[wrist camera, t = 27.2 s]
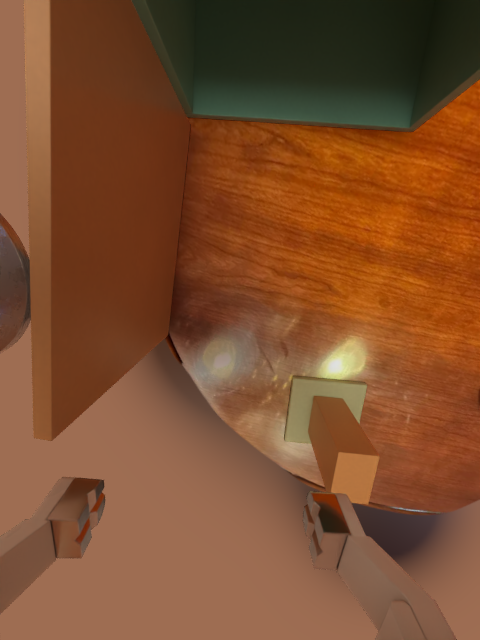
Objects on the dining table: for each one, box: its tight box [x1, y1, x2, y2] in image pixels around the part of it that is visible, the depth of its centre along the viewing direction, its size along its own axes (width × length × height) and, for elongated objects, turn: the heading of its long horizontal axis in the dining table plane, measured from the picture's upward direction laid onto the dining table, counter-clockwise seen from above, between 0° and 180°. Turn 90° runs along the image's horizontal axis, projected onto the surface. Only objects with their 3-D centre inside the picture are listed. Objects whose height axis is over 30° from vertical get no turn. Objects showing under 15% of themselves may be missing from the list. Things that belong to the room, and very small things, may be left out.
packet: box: [308, 396, 380, 504], centre depth 35 cm, size 4×6×12 cm
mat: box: [284, 376, 367, 444], centre depth 41 cm, size 11×11×1 cm
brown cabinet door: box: [24, 0, 191, 441], centre depth 25 cm, size 7×28×24 cm, turn 170°
